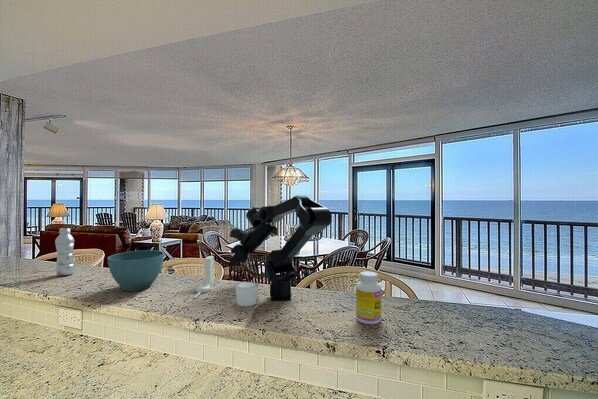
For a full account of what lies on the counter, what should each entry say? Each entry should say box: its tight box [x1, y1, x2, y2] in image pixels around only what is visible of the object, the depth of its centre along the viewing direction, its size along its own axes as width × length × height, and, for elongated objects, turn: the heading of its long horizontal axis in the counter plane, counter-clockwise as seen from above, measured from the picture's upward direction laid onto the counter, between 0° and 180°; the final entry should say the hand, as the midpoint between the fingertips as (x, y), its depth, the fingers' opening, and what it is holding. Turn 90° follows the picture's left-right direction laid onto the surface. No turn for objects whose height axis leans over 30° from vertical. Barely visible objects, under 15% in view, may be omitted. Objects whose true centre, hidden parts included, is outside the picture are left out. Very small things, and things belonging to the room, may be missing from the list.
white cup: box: [235, 281, 259, 309], centre depth 90 cm, size 7×7×7 cm
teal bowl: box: [107, 249, 165, 292], centre depth 109 cm, size 18×18×12 cm
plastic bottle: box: [54, 227, 76, 277], centre depth 126 cm, size 6×7×20 cm
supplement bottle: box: [355, 271, 382, 325], centre depth 81 cm, size 7×7×13 cm
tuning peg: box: [193, 255, 215, 299], centre depth 102 cm, size 5×17×10 cm, turn 0°
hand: (228, 265), depth 108 cm, fingers closed
